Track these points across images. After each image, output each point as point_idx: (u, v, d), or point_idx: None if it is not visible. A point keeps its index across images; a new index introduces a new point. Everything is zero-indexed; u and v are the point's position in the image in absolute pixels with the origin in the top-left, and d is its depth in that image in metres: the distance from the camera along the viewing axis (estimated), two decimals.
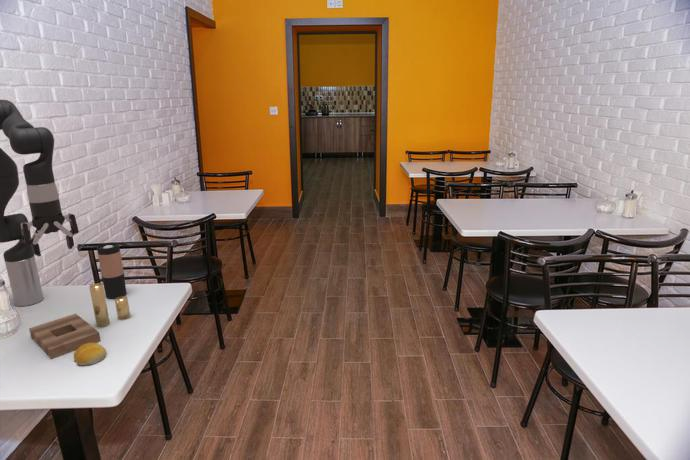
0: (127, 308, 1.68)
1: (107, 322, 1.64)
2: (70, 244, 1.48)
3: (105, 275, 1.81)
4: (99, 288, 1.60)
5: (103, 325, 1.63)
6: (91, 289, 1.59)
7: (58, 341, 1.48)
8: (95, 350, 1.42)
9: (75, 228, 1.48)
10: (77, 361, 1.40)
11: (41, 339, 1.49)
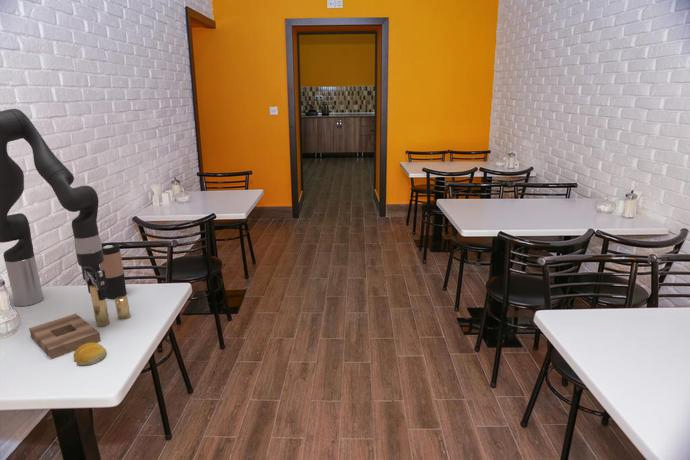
0: (127, 308, 1.68)
1: (107, 322, 1.64)
2: None
3: (105, 275, 1.81)
4: None
5: (103, 325, 1.63)
6: (91, 289, 1.59)
7: (58, 341, 1.48)
8: (95, 350, 1.42)
9: None
10: (77, 361, 1.40)
11: (41, 339, 1.49)
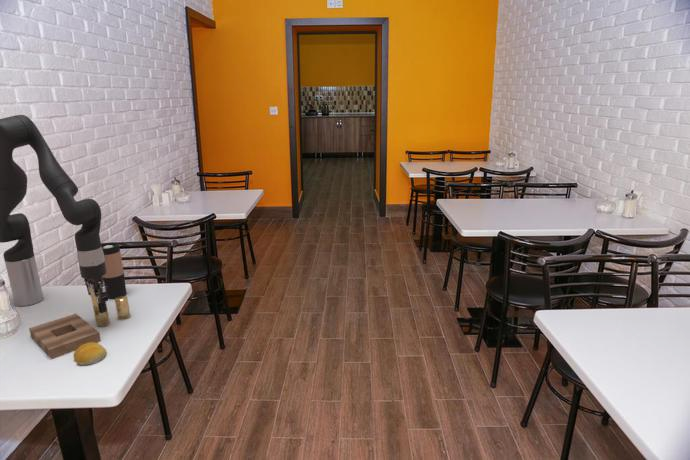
0: (127, 308, 1.68)
1: (107, 322, 1.64)
2: None
3: (105, 275, 1.81)
4: None
5: (103, 325, 1.63)
6: (91, 289, 1.59)
7: (58, 341, 1.48)
8: (95, 350, 1.42)
9: None
10: (77, 361, 1.40)
11: (41, 339, 1.49)
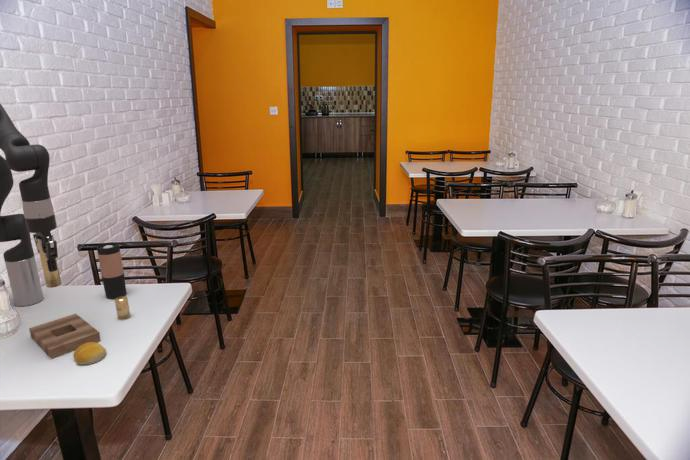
0: (127, 308, 1.68)
1: (58, 282, 1.50)
2: None
3: (105, 275, 1.81)
4: None
5: (53, 285, 1.49)
6: (39, 245, 1.45)
7: (58, 341, 1.48)
8: (95, 349, 1.42)
9: None
10: (77, 360, 1.40)
11: (41, 339, 1.49)
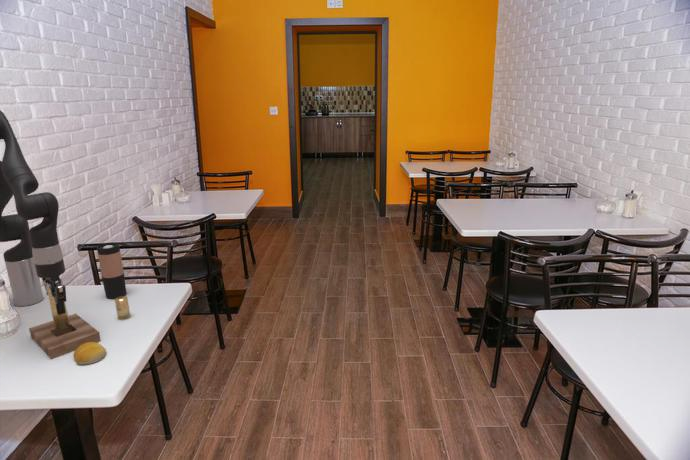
0: (127, 308, 1.68)
1: (66, 324, 1.53)
2: None
3: (105, 275, 1.81)
4: None
5: (62, 327, 1.52)
6: (48, 289, 1.49)
7: (58, 341, 1.48)
8: (95, 349, 1.42)
9: None
10: (77, 360, 1.40)
11: (41, 339, 1.49)
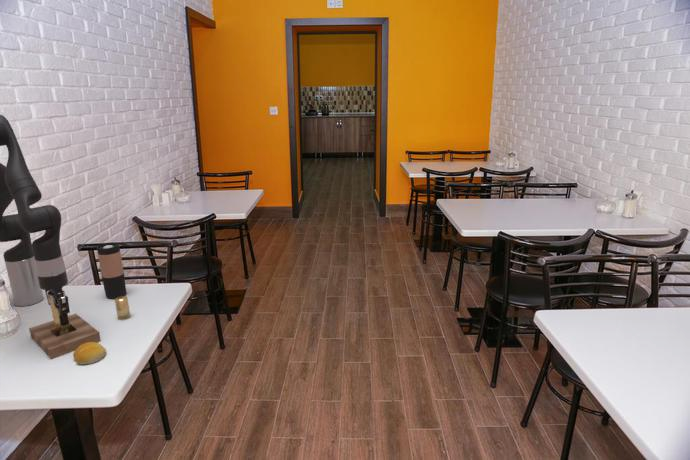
0: (127, 308, 1.68)
1: None
2: None
3: (105, 275, 1.81)
4: None
5: None
6: (51, 302, 1.50)
7: (58, 341, 1.48)
8: (95, 349, 1.42)
9: None
10: (77, 360, 1.40)
11: (41, 339, 1.49)
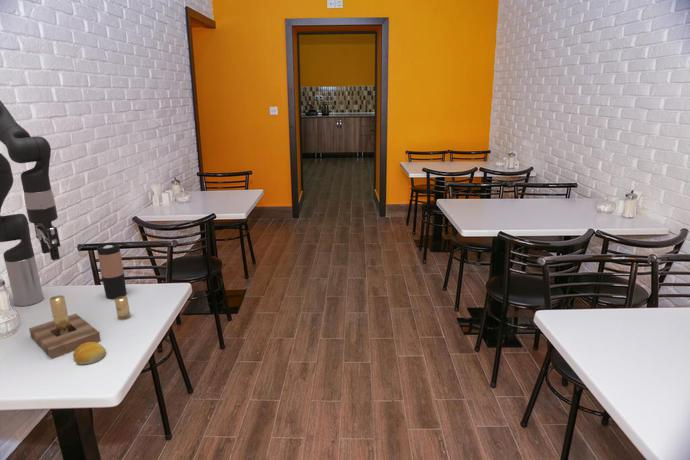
0: (127, 308, 1.68)
1: None
2: None
3: (105, 275, 1.81)
4: (60, 301, 1.51)
5: None
6: (51, 302, 1.50)
7: (58, 341, 1.48)
8: (95, 349, 1.43)
9: None
10: (77, 360, 1.40)
11: (41, 339, 1.49)
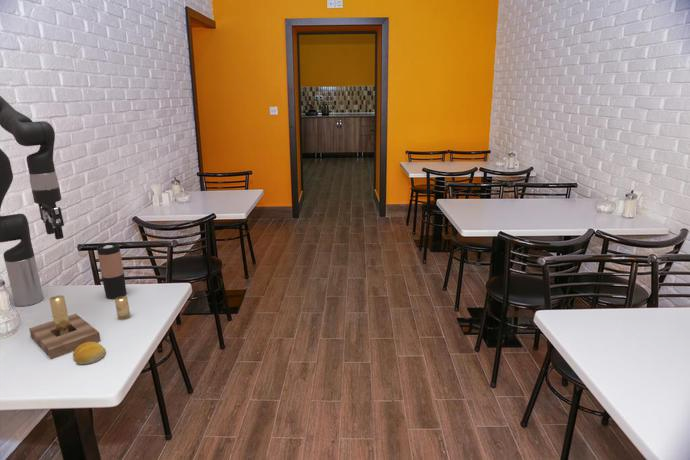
0: (127, 308, 1.68)
1: None
2: (53, 228, 1.62)
3: (105, 275, 1.81)
4: (60, 301, 1.51)
5: None
6: (51, 302, 1.50)
7: (58, 341, 1.48)
8: (94, 349, 1.43)
9: None
10: (76, 360, 1.40)
11: (41, 339, 1.49)
